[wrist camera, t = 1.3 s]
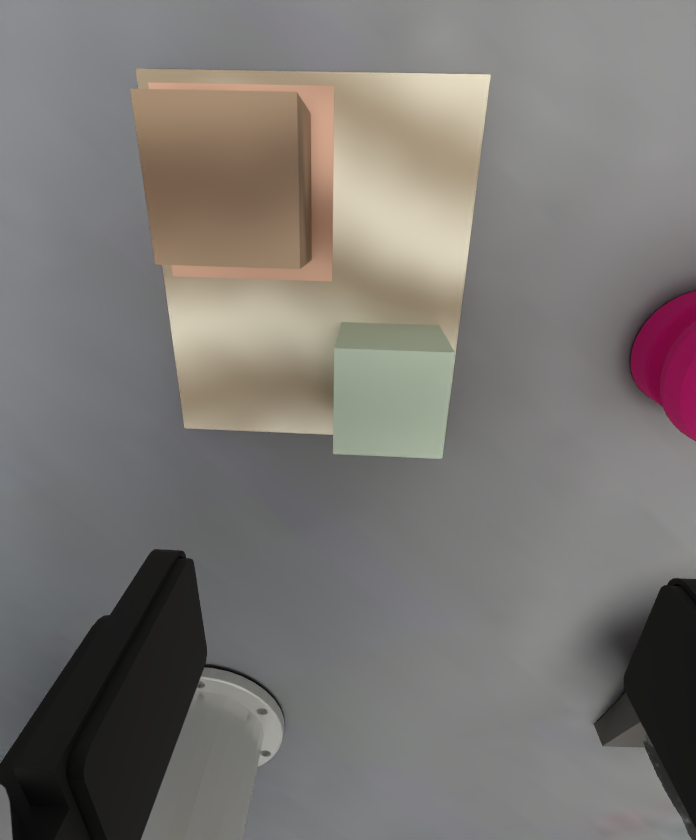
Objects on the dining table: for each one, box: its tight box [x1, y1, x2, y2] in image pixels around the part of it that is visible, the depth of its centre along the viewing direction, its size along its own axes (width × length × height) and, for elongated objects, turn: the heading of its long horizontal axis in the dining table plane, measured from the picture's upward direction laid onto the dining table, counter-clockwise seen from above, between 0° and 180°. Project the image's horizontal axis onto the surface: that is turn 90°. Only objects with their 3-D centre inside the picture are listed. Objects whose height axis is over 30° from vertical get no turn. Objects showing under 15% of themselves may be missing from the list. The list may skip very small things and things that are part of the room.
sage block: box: [333, 322, 455, 459], centre depth 22 cm, size 5×5×5 cm
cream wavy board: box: [136, 69, 490, 435], centre depth 23 cm, size 17×15×1 cm
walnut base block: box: [130, 89, 312, 269], centre depth 19 cm, size 6×6×4 cm
